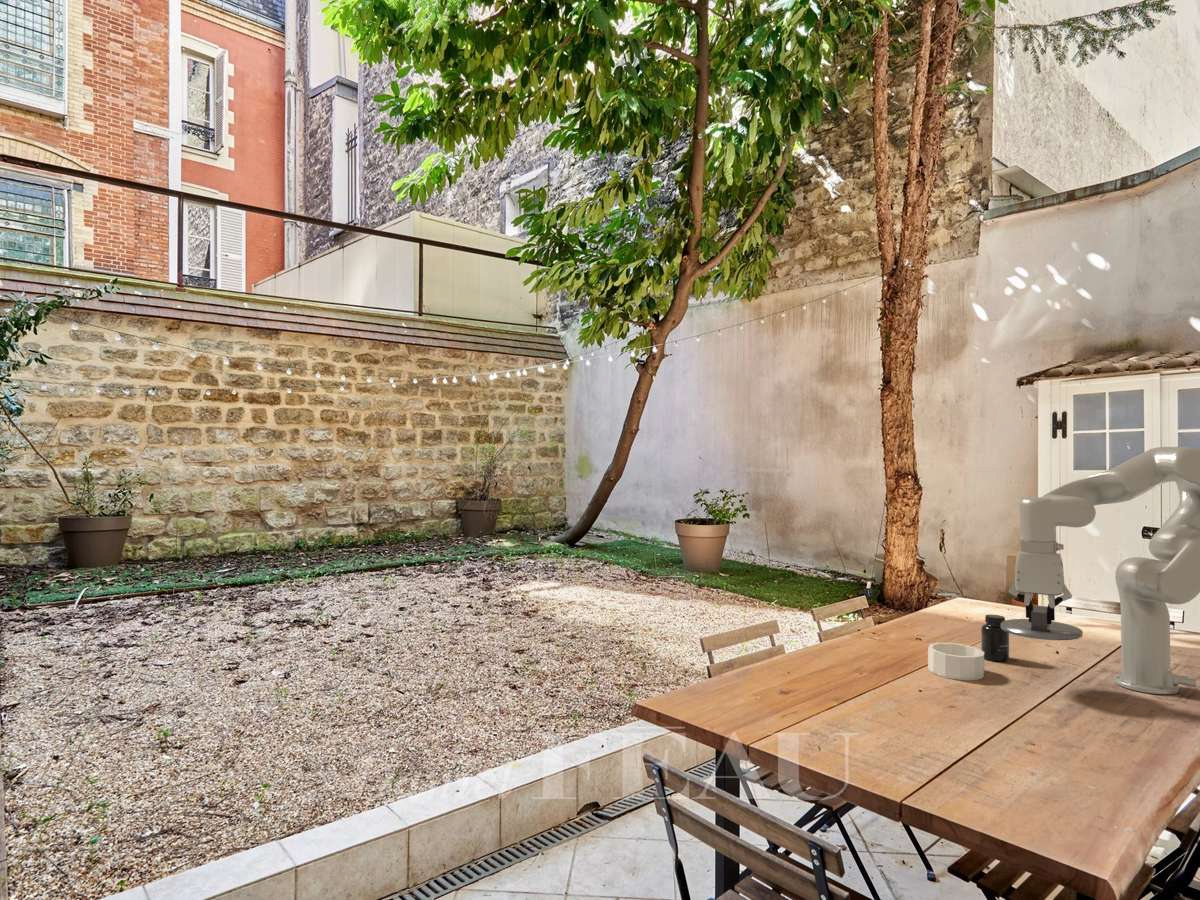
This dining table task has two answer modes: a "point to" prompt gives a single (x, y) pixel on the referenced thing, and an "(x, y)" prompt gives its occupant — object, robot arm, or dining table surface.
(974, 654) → the bowl
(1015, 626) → the lid
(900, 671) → the dining table surface
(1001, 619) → the supplement bottle
